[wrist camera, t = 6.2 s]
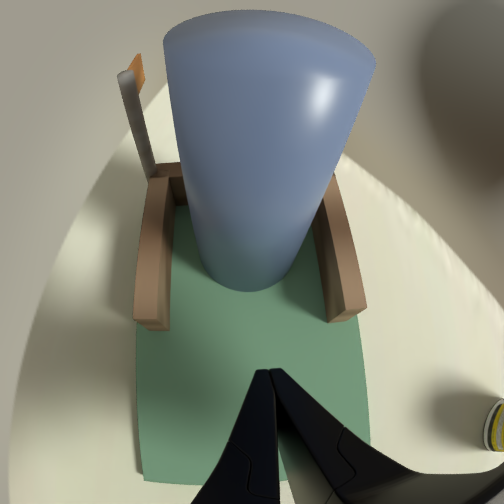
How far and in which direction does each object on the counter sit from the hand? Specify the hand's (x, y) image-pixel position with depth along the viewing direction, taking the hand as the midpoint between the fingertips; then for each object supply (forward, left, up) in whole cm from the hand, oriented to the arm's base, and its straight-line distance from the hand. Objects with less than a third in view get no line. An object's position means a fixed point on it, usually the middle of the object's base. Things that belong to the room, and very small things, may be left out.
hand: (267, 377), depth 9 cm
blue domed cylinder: (+6, -6, -6) cm, 10 cm away
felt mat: (+2, -2, -7) cm, 8 cm away
